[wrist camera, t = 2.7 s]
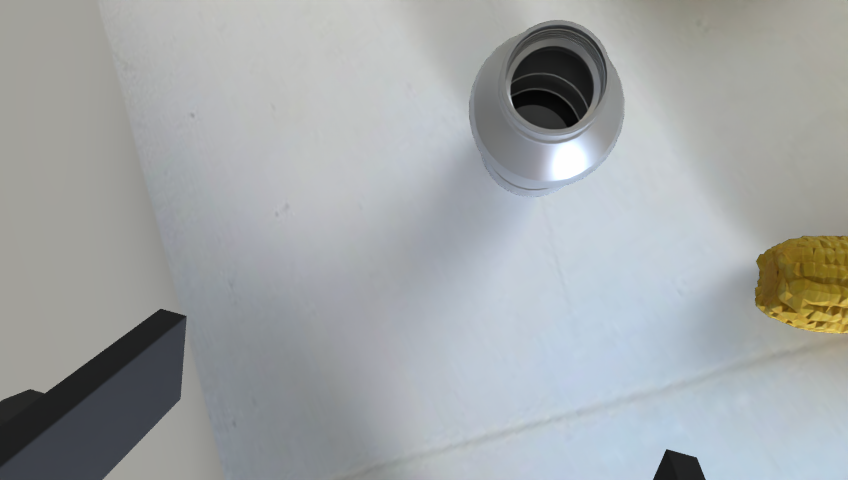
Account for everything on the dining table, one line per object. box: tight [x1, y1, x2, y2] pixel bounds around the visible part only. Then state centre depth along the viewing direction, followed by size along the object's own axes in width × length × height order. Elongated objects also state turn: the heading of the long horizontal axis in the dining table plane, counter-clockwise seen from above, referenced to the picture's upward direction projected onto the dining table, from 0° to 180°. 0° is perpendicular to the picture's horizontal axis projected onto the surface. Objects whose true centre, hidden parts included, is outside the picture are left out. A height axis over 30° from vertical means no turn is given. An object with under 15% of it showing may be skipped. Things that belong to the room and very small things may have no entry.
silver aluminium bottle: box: [469, 20, 624, 197], centre depth 29 cm, size 6×7×20 cm
